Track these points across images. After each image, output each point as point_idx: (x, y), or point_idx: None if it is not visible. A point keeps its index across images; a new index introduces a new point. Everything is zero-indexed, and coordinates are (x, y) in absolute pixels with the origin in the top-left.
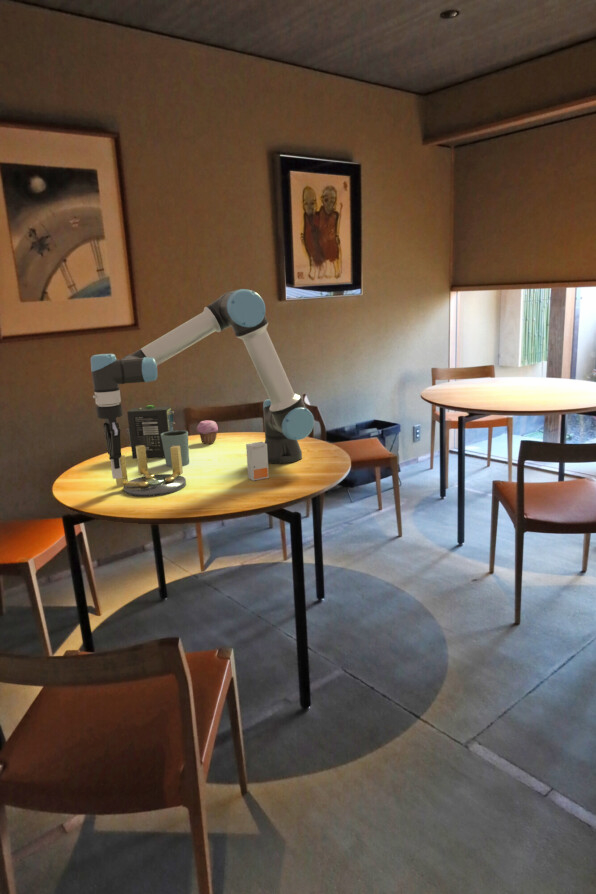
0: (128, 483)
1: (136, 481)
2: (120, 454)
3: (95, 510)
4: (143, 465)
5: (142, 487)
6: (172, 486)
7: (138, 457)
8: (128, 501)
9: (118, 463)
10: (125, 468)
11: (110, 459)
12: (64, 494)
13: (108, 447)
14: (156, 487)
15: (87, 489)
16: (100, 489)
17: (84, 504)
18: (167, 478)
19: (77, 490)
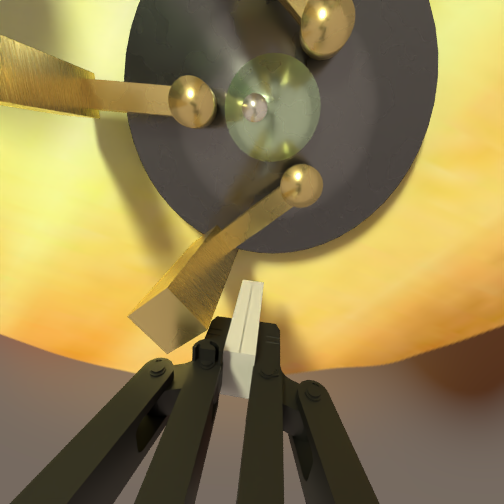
0: (248, 237)
1: (190, 176)
2: (332, 409)
3: (360, 366)
4: (61, 86)
5: None
6: (411, 61)
7: (7, 103)
8: (364, 273)
9: (279, 349)
10: (201, 255)
11: (226, 388)
12: None
13: (144, 453)
14: (353, 140)
15: None
16: None
17: None
18: (333, 42)
19: (123, 336)
